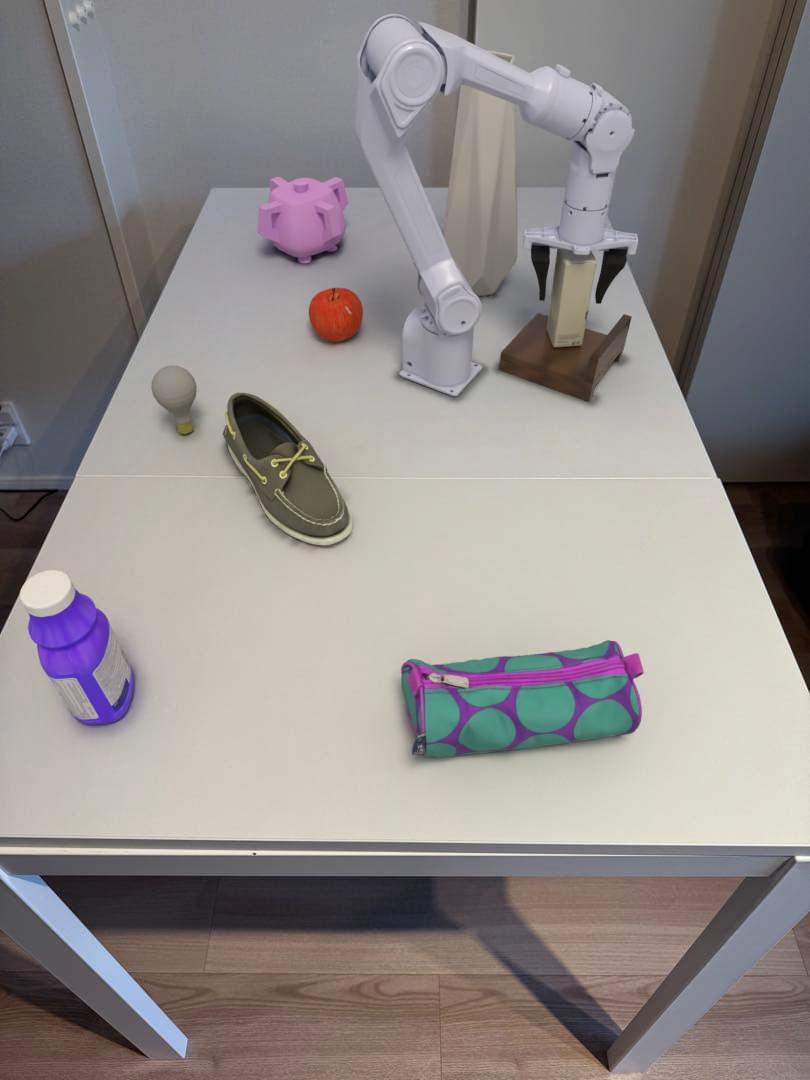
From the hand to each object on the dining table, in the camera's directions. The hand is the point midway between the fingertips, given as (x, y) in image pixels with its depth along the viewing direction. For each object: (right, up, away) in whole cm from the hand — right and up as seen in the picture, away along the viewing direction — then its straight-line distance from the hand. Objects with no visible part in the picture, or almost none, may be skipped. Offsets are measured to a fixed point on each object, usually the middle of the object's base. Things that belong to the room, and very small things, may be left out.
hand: (569, 298), depth 106 cm
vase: (-11, +9, +20) cm, 25 cm away
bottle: (-52, -49, -30) cm, 78 cm away
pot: (-40, +18, +29) cm, 52 cm away
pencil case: (-12, -51, -32) cm, 62 cm away
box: (0, -4, +5) cm, 6 cm away
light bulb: (-52, -19, -4) cm, 55 cm away
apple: (-33, -2, +11) cm, 35 cm away
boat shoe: (-37, -27, -11) cm, 47 cm away
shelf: (0, -8, +6) cm, 10 cm away
